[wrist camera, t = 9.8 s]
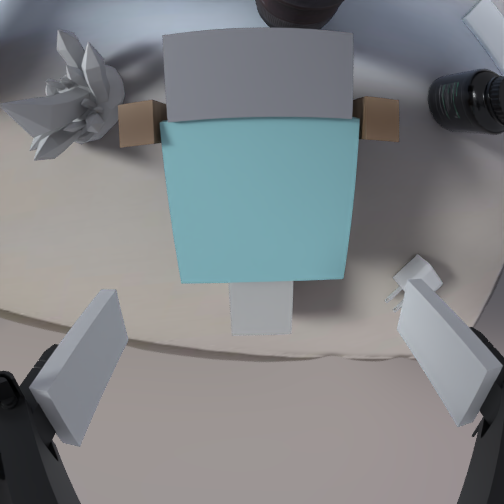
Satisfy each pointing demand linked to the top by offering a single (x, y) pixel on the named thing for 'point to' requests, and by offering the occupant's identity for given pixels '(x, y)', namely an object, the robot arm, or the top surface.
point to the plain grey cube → (261, 307)
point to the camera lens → (297, 13)
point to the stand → (152, 113)
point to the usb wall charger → (415, 277)
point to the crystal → (71, 101)
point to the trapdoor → (260, 153)
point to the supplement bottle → (469, 102)
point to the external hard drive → (488, 29)
